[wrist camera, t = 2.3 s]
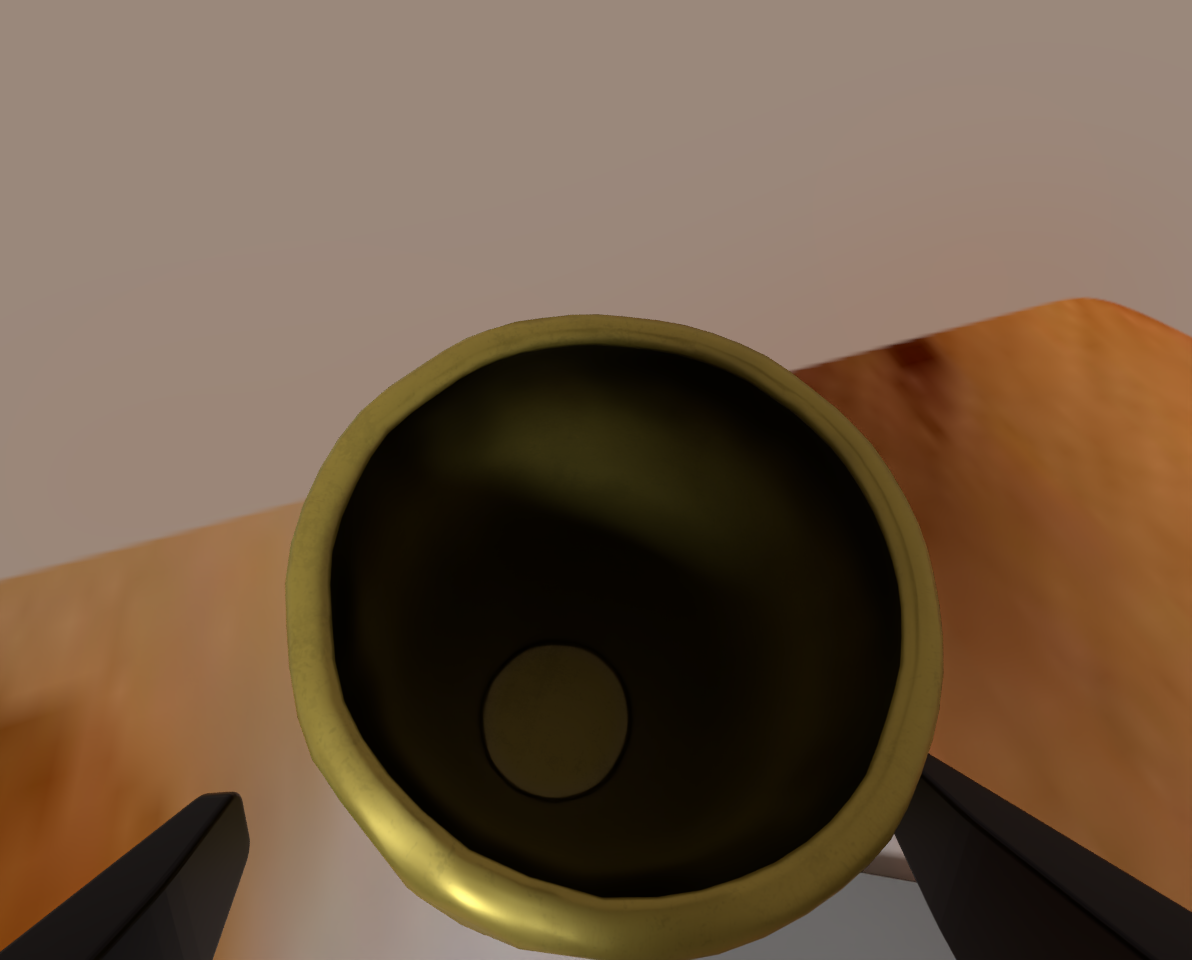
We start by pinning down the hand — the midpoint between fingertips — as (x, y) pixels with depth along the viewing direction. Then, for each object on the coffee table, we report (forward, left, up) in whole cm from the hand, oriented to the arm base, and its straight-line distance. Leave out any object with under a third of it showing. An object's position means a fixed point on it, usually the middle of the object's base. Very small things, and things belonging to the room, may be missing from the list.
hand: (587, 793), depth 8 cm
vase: (+2, 0, -10) cm, 10 cm away
